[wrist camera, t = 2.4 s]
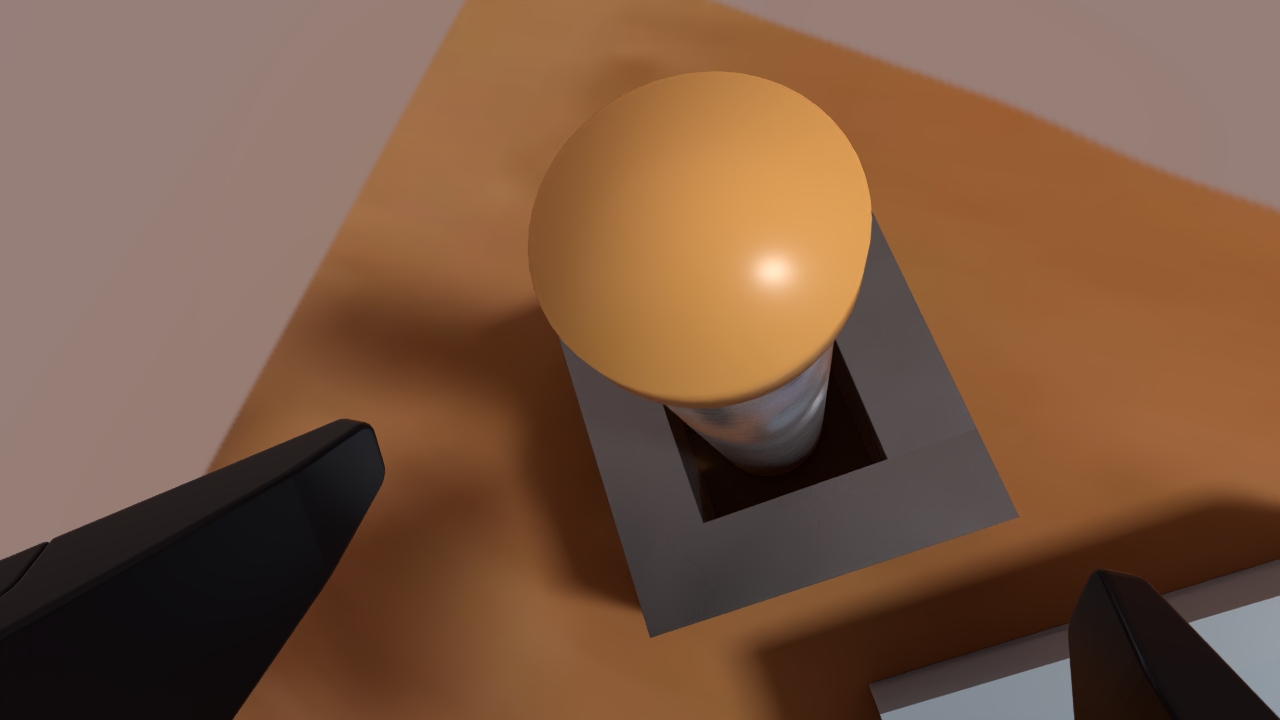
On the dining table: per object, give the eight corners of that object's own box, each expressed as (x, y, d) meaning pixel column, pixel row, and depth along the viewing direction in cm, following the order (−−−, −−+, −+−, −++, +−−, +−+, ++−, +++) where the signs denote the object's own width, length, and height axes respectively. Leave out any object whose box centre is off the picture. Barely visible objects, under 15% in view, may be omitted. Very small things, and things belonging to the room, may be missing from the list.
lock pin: (729, 500, 19) (581, 446, 7) (689, 386, 20) (492, 152, 8) (849, 458, 19) (935, 314, 6) (801, 344, 20) (790, 19, 7)
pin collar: (674, 621, 19) (650, 637, 16) (585, 340, 21) (550, 310, 18) (984, 518, 18) (1018, 516, 15) (852, 234, 20) (859, 185, 17)
